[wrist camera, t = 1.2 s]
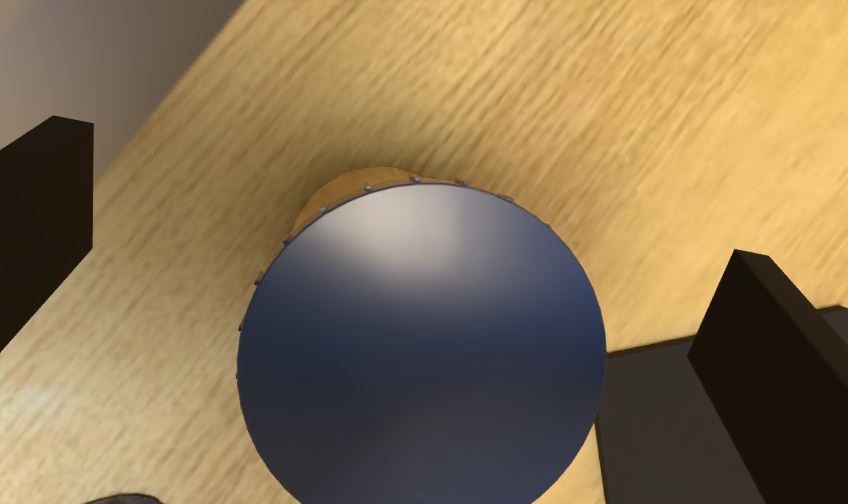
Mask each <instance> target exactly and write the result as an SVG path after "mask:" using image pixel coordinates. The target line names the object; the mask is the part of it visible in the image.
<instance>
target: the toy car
mask: <svg viewBox="0 0 848 504" xmlns="http://www.w3.org/2000/svg"><path fill="white" fill-rule="evenodd" d="M89 504H158V502H157V501H156V500H154V499H151V498H149V497H148V498H145V499H144V497H140V496H126V497H122V495H119V496H118V497H117V498H108V499H106V500H99V501H96V502H94V503H89Z"/></svg>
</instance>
